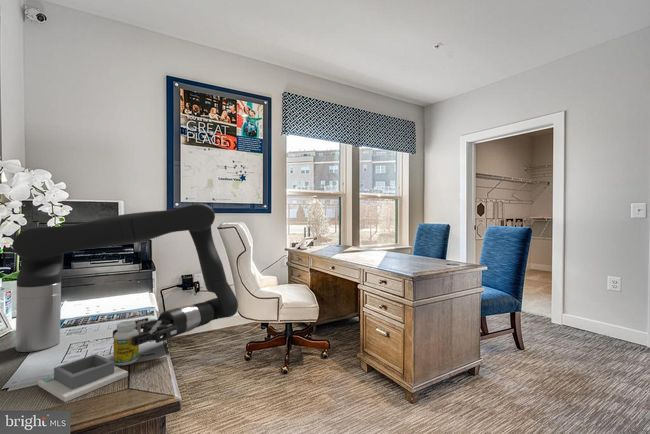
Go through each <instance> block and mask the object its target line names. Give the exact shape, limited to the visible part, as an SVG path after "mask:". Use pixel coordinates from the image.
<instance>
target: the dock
mask: <svg viewBox="0 0 650 434" xmlns="http://www.w3.org/2000/svg"><path fill="white" fill-rule="evenodd" d="M128 376H129V371H127V370H125V369H123V368H120V367H118V366H117V365H115V364H114V360H110V359H109V358H106V357H104V356H101V355H98V353H95V354H92V355H89V356H86V357H82V358H80V359H76V360H74V361H71V362H68V363H64V364H62V365H58V366H56V367H54V368H53V375H52V376H49V375H48V376H45V377H43V378H42V379H40V380H38V382H37V384H38V387H40V388H41V389H42V390H45V391H46V392H48V393H50V394H51V395H52V396H54V397H56V398H57V399H59V400H61V401H62V402H64V403H66V402H69V401H72V400H74V399H76V398H78V397H81V396H83V395H86V394H88V393H91V392H93V391H95V390H98V389H101V388H102V387H104V386H107V385H110V384H112V383H115V382H117V381H119V380H122V379H124V378H126V377H128Z"/></svg>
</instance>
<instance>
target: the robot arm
mask: <svg viewBox="0 0 650 434" xmlns="http://www.w3.org/2000/svg"><path fill="white" fill-rule="evenodd" d="M215 214H216V213H215V211H214V209H213V208H212V207H211V206H210V205H207V204H205V203H200V202H199V203H194V204H190V205H186V206H182V207H177V208H172V209H166V210H155V211H154V210H153V211H142V212H134V213H133V212H132V213H125V214H124V213H123V214H116V215H112V216H108V217H103V218H98V219H94V220H90V221H86V222H82V223H77V224H70V225H69V224H67V225H57V226H56V225H55V226H48V225H39V226H32V227H28V228H24V230H22V231H20V232H18V234H17V235H16V236H15V237H14V239H13V241H12V250H13V252H14V253H15V254H16V255H17V256H18V257H20V258H21V259H20V267H19V268H20V269H19V271H18V274H17V277H16V303H15V304H16V307H15V309H16V310H15V351H16V352H18V353H19V352H20V353H27V352H29V353H30V352H37V351H41V350H46V349H48V348H52V347H55V346H56V345H58V344H60V342H61V310H62V309H61V306H62V304H61V303H62V300H61V299H62V274H63V270H64V254H68V253H73V252H77V251H81V250H88V249H90V250H92V249H102V248H111V247H118V246H125V245H131V244H136V243H141V242H146V241H149V240H152V239H155V238H156V239H157V238H159V237H161V236H164V235H167V234H171V233H176V232H185V231H188V232H189V235H190V237H191V238H192V241H193V243H194V246H195V251H196V253H197V257H198V261H199V265H200V270H201V273H202V278H203V283H204V285H205V289H206V291H207V292H209V293H212V294H213V293H214V295H215V296H216V297H214V298H211V299H208V300H205V301H203V302H198V303H194V304H191V305H184V306H180V307H176V308H172V309H168V310H165V311H163V312H161V313H160V314H159V317H158V318H157V319H155V318H154V319H150V320H149V317H146V318H141V319H137V320H134V321H135V323H136V327H135V328H134V329H136V330H138V332H139V335H137V336H134V337H133V338H132V345H133V346H137V345H142V344H146V343H148V342H149V343H153V342H154V341H155V343H156V344H158V343H159V344H160V343H161V342H163V341H164V342H165V341H166V340H169V339H172V338H174V337H176V336H178V335H183V334H186V333H188V332H191V331H192V330H194V329H197V328H200V327H202V326H205V325H207V324H209V323H210V322H211V321H215V320H219V319H220V320H221V319H225V318H231V317H234V316H235V315H236V314H237V312H238V308H239V302H238V299H237V297H236V295H235V292H234V291H233V289H232V288H231V286H230V284H229V282H228V280H227V275H226V273H225V269H224V264H223V262H222V259H221V257H220V255H219V253H218V251H217V250H218V249H217V248H216V245H215V242H214V238H213V233H212V225H213V224H214V222H215V218H216V215H215ZM116 332H118V331H117V328H116V329H114V330H113V331H112V339H114V334H115V333H116Z"/></svg>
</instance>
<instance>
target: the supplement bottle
mask: <svg viewBox="0 0 650 434" xmlns="http://www.w3.org/2000/svg"><path fill="white" fill-rule="evenodd" d="M135 321H136V320H126V321H121V322H119V323H117V324H116V329H117V331H118V332H116V333H115V334H114V338H113V358H112V359H113V360H112V361H113V362H114V366H127V365H130V364H133V363H135V362H137V360H138V359H139V345H137V346H133V345H132V338H133V337H134V336H137V335H139V332H138V330H136V329H134V328H135V327H136V323H135Z"/></svg>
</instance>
